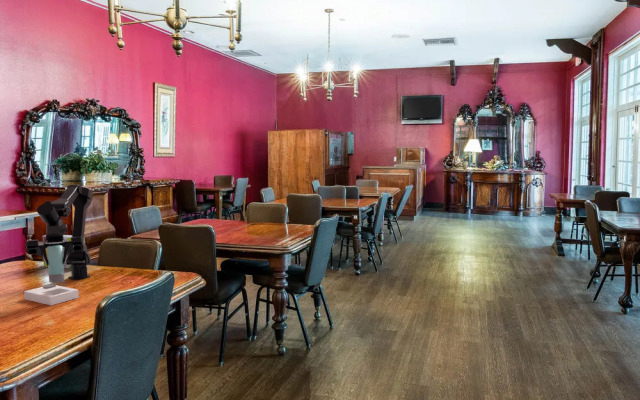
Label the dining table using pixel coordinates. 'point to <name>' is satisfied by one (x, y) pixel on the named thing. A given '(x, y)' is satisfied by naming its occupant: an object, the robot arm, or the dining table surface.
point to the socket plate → (51, 294)
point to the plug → (55, 263)
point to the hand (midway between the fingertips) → (55, 264)
